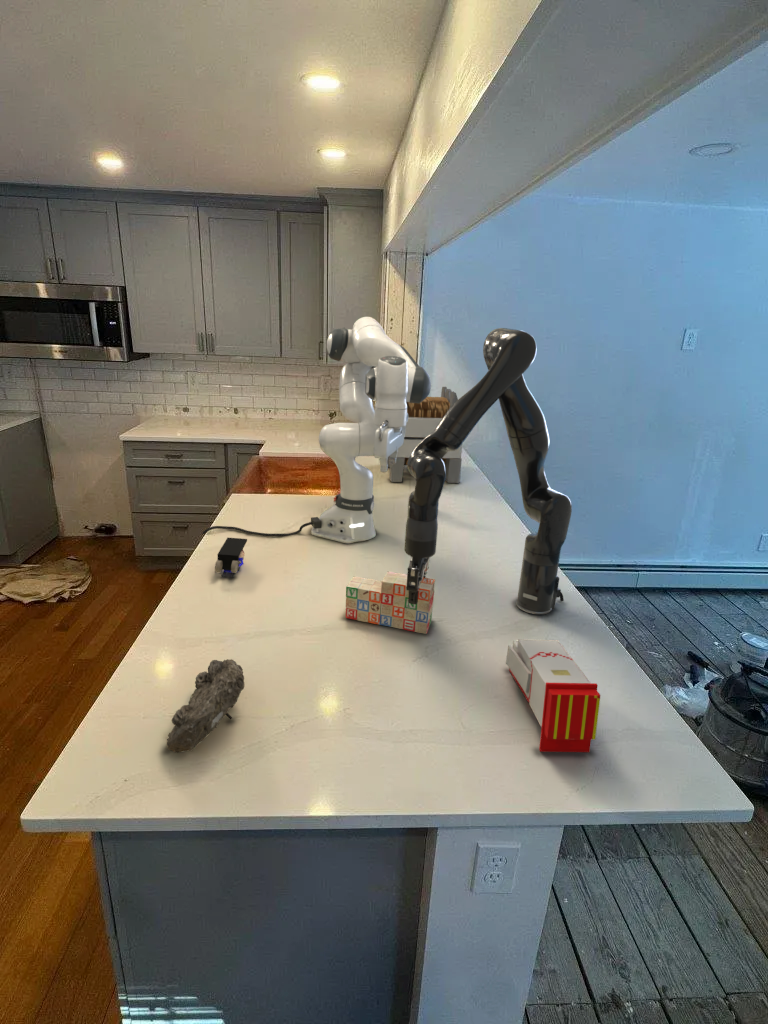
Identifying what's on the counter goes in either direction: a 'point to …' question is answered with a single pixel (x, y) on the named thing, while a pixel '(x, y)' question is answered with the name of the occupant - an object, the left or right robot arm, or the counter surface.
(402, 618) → the stack of blocks
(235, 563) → the figurine character
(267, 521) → the counter surface
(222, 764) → the counter surface
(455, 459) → the grey slatted crate
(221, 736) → the counter surface
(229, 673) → the fossil
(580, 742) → the toy
